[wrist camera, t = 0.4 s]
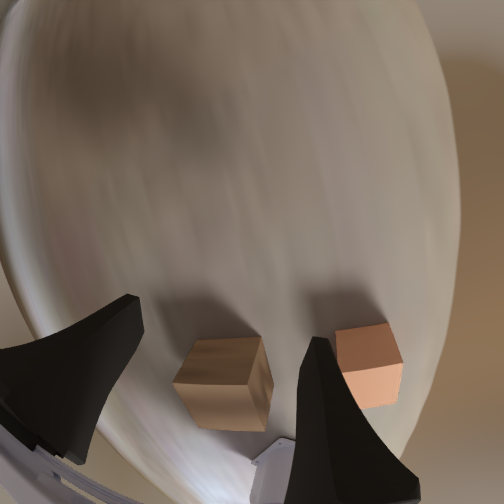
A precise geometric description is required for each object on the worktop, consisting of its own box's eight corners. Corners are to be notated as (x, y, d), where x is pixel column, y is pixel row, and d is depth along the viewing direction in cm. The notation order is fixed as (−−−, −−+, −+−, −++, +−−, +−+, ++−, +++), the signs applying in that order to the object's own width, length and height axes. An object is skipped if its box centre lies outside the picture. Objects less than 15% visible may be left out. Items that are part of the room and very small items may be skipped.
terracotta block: (385, 362, 21) (396, 402, 17) (337, 369, 23) (340, 411, 18) (388, 322, 20) (403, 362, 16) (335, 330, 21) (339, 373, 17)
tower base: (274, 382, 25) (269, 405, 22) (216, 383, 26) (208, 404, 23) (261, 334, 23) (255, 357, 20) (197, 337, 24) (186, 358, 22)
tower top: (270, 405, 22) (265, 431, 19) (208, 404, 23) (198, 427, 21) (255, 357, 20) (247, 385, 17) (185, 358, 22) (171, 382, 19)
